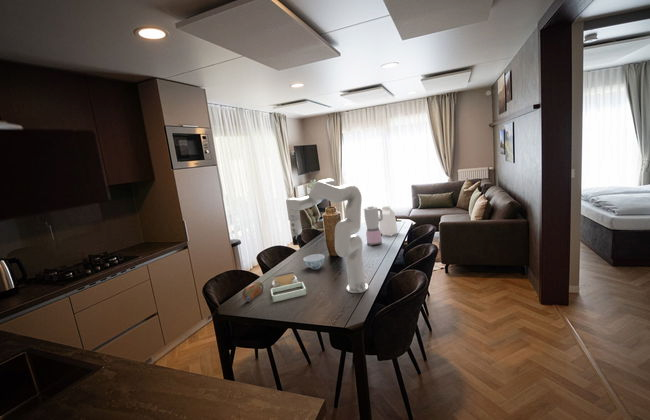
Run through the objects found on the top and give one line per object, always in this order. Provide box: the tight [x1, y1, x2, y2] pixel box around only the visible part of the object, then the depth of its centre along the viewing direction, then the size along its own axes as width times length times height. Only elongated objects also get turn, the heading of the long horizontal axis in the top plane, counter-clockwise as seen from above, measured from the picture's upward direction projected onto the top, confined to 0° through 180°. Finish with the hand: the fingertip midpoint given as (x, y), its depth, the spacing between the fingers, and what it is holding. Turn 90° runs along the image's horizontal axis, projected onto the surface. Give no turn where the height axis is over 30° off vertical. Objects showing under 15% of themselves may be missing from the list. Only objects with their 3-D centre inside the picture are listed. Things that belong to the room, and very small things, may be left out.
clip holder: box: [271, 275, 299, 288], centre depth 193 cm, size 12×16×4 cm
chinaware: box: [303, 253, 325, 271], centre depth 217 cm, size 15×15×8 cm
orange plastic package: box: [241, 281, 264, 303], centre depth 180 cm, size 15×3×8 cm, turn 148°
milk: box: [378, 205, 398, 237], centre depth 279 cm, size 12×12×26 cm
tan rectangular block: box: [273, 269, 295, 286], centre depth 193 cm, size 3×12×7 cm, turn 105°
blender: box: [363, 205, 383, 247], centre depth 253 cm, size 16×12×32 cm
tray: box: [270, 281, 308, 303], centre depth 179 cm, size 12×20×3 cm, turn 105°
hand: (297, 242), depth 198 cm, fingers open, 9 cm apart
